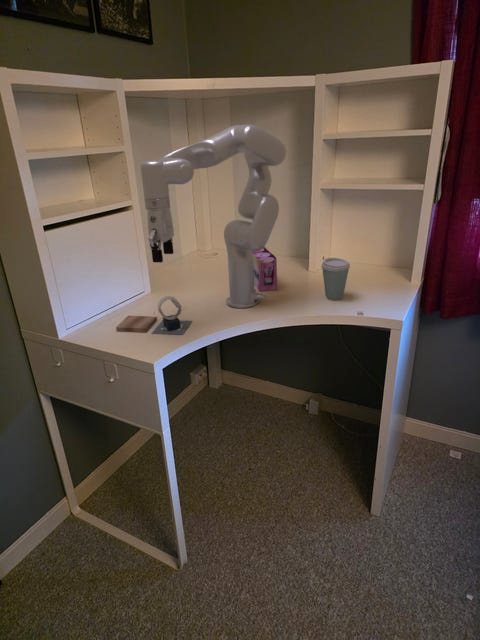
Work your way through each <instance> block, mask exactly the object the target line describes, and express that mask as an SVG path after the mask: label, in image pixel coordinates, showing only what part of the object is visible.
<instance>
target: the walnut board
mask: <svg viewBox="0 0 480 640" xmlns="http://www.w3.org/2000/svg"><path fill="white" fill-rule="evenodd" d="M157 321H158V317H157V316H151V315H150V316H147V315H127V316H126V317H125V318H124V319H123V320H122V321H121V322H120V323H118V325H116V327H115V329H116V332H124V333H125V332H127V333H148V332H149V331H150V330H151V328H152V327H153V326H154V325H155V324H156V323H157Z"/></svg>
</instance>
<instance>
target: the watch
mask: <svg viewBox="0 0 480 640" xmlns="http://www.w3.org/2000/svg"><path fill="white" fill-rule="evenodd" d="M167 300H168V301H169V300H170V301H171V302H172V304H173V305H174V306H175V307H176V308H177V311H176V313H175V314H171V315H165V314H164V312H163V311H162V306H163V303H164V302H166V301H167ZM182 308H183V306H182V305H181V303H180V302H179V301H178V300H177V298H175V296H171V295H168V296H164V297H163V298H161V299H160V300H159V302H158V305H157V310H158V312H159V314H160V315H161V316H162V320H163V323H164V326H165V327H166V329H167V330H168V331H172V330H176V329H180V328H181V327H180V318H179V317H180V315H181V313H182V311H183V309H182Z"/></svg>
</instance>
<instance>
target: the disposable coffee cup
mask: <svg viewBox="0 0 480 640" xmlns="http://www.w3.org/2000/svg"><path fill="white" fill-rule="evenodd" d="M350 264H351V263H349V261H348V260H346V259H343V258H339V257H326V258H325V259H323V261H322V263H321V270H322V276H323V284H324V285H323V286H324V292H325V297H326V299H327V300H329V301H339V300H342V299H343V297H344V294H345V289H346V285H347V280H348V275H349V270H350V268H351V267H350V266H351V265H350Z"/></svg>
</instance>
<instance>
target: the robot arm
mask: <svg viewBox="0 0 480 640" xmlns="http://www.w3.org/2000/svg"><path fill="white" fill-rule="evenodd" d="M240 153H243V156H244V160H245V162H246V166H247V167H248V168H247V169H248V180H247V182H246V185H245V188H244V190H243V193H242V195H241V198H240V200H239V203H238V207H237V211H238V214H239V215H240V216H241V217H242V218H245V219H247V220H251V222H250V221H246V220H239V219H235V220H231V221H229V222H228V223H227V224H226V226H225V228H224V230H223V240H224V243H225V248H226V252H227V265H228V266H227V267H228V269H227V270H228V282H229V283H228V284H229V285H228V286H229V296H228V297H227V298H226V300H225V303H226V305H228V306H229V307H231V308H235V309H247V308H251V307H254V306H257V305H258V304H259V300H263V301H265V300H266V299H267V298H266V297H267V295H266V294H264V293H263V292H260V293H259V292H257V288H255V285H254V261H253V254H252V251H259V250H261V249H263V248H264V247H266V245H267V244H268V241H269V239H270V237H271V234H272V232H273V230H274V226H275V224H276V221H277V219H278V216H279V212H280V206H279V204H280V203H279V201H278V199H277V198H276V197H275V196H274V195H272V194H269V191H270V190H271V187H272V186H271V185H272V174H271V171H270V168H269V167H277V166H279V165H281V164H282V163H283V162H284V161H285V159H286V156H287V149H286V145H285V144H284V143H283V141H282V140H281V139H279V138H278V137H276V136H275V135H273V134H272V133H270V132H268V131H267V130H264V129H263V128H261V127H259V126H258V125H254V124H252V123H251V124H235V125H232V126H229V127H227V128H225V129H223V130H220V131H219V132H217V133H215V134H213V135H211V136H209V137H207V138H205V139H203V140H200V141H197V142H195V143H193V144H190V145H187V146H184V147H181V148H179V149H176V150H174V151H172V152H169V153H167V154H166V155H164V156H162V157H161V158H159V159H155V160H154V159H153V160H145V161H143V162H141V164H140V173H141V175H140V176H141V180H142V181H141V182H142V191H143V199H144V207H145V210H146V211H147V226H148V227H147V229H148V236H149V237H148V242H149V247H150V250H151V257H152V262H153V263H163V262H164V257H163V255H173V254H174V244H173V238H174V236H175V232H174V231H175V229H174V225H173V224H174V223H173V222H174V221H173V217H172V212H171V202H170V201H171V200H170V189H169V185H186V184H187V183H189V182H191V180H192V179H193V177H194V173H195V170H198V169H207V168H211V167H216V166H218V165H220V164H222V163H223V162H225V161H227V160H229V159H231V158H232V157H234V156H236V155H237V154H240ZM161 247H163V250H162V249H161Z"/></svg>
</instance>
